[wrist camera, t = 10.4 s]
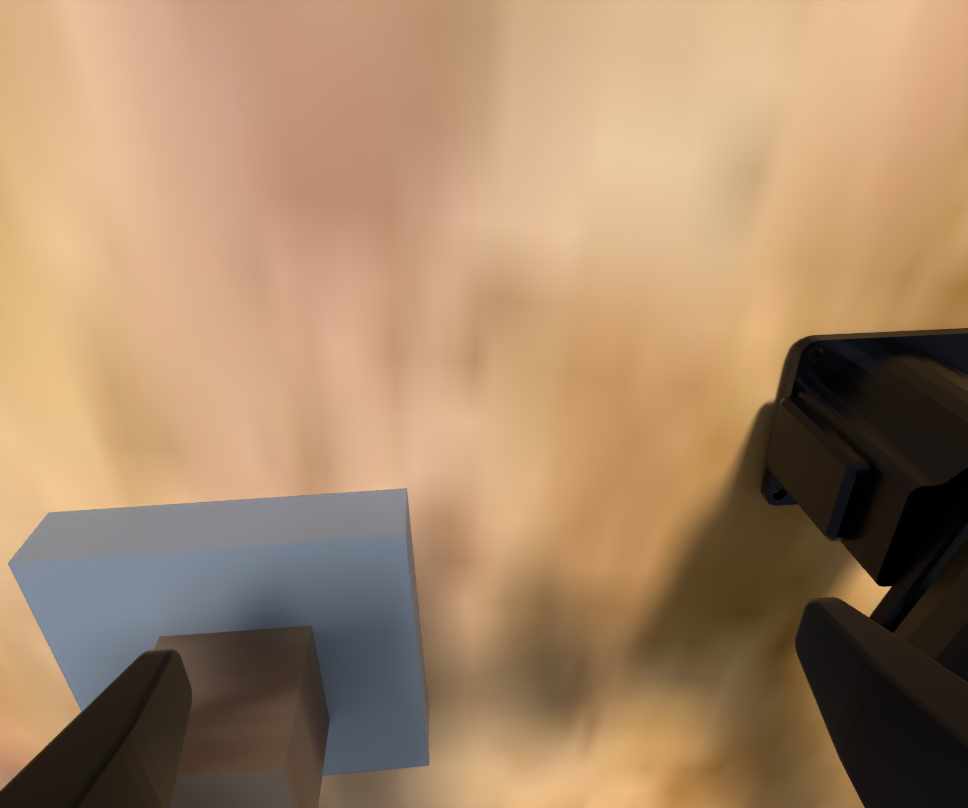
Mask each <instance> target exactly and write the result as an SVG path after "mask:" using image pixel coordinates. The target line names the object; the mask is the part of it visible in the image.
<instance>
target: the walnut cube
mask: <svg viewBox="0 0 968 808" xmlns="http://www.w3.org/2000/svg"><path fill="white" fill-rule="evenodd" d="M169 648H172V649H176V650H177V651H178V652H179V653H180V655H181V658H182V661H183V664H184V666H185V669H186V672H187V675H188V678H189V681H190V684H191V687H192V705H191V711H190V716H189V721H188V725H187V730H186V735H185V740H184V745H183V750H182V755H181V760H180V765H179V770H178V775H177V780H176V785H175V790H174V795H173V800H172V805H171V808H318V802H319V795H320V788H321V780H322V773H323V766H324V759H325V751H326V744H327V737H328V730H329V722H330V719H329V714H328V708H327V703H326V698H325V693H324V688H323V682H322V677H321V672H320V667H319V661H318V656H317V651H316V646H315V641H314V635H313V630H312V626H300V627H286V628H272V629H258V630H244V631H230V632H216V633H202V634H188V635H174V636H159V638H158V641H157V643H156V645H155V647H154V650H156V649H169Z"/></svg>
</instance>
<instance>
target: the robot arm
mask: <svg viewBox="0 0 968 808" xmlns="http://www.w3.org/2000/svg"><path fill="white" fill-rule="evenodd" d="M813 348H817V350H816V352H815V353H814V354H813V355H812V356H809V357H808V354H809V352H810V351H811V350H812V349H813ZM765 464H766V470H765V474H764V478H763V483H762V487H761V494H762V495H763V497H764V498H765V499H766V501H767V502H768V503H769V504H771V505H776V506H778V505H793V504H799V505H800V507H801V508H802V509H803V510H804V511H805V513H806V514H807V515H808V516H809V517H810V519H811V520H812V521H813V522H814V524H815V525H816V526H817V527H818V528H819V530H820V531H821V532H822V533H823V534H824V535H825V536H826V537H827V538H828V539H829V540H830V541H841V542H842V543H843V545H844V546H845V547H846V548H847V549H848V550H849V552H850V553H851V554H852V555H853V556H854V558H855V559H856V560H857V561H858V562H859V563H860V565H861V566H862V567H863V568H864V569H865V570H866V572H867V573H868V574H869V575H870V576H871V577H872V579H873V580H874V581H875V582H876V583H877V584H878V585H879V586H883V587H886V586H892V587H891V588H890V590H889V591H888V592H887V594H886V595H885V596H884V598H883V599H882V600H881V602H880V603H879V605H878V606H877V607H876V609H875V610H874V611H873V613H872V614H871V615H870V617H867V616H866V615H864V614H863V613H861V612H859V611H858V610H856V609H855V608H853V607H852V606H850V605H849V604H847V603H846V602H844V601H842V600H840V599H838V598H818V599H811V600H809V601H808V602H807V603H806V605H805V607H804V611H803V614H802V617H801V620H800V623H799V627H798V630H797V633H796V637H795V648H796V652H797V655H798V658H799V660H800V663H801V665H802V668H803V670H804V673H805V675H806V678H807V680H808V683H809V685H810V688H811V690H812V693H813V695H814V698H815V700H816V703H817V705H818V708H819V710H820V713H821V715H822V718H823V720H824V723H825V725H826V728H827V730H828V733H829V735H830V738H831V740H832V742H833V745H834V747H835V749H836V752H837V754H838V756H839V758H840V760H841V762H842V764H843V766H844V768H845V770H846V772H847V775H848V776H849V778H850V780H851V782H852V784H853V786H854V788H855V790H856V792H857V794H858V796H859V798H860V800H861V802H862V803H863V805H864V807H865V808H968V328H960V329H939V330H918V331H897V332H875V333H854V334H833V335H812V336H808V337H805V338H804V339H802V340H801V341H800V342H799V343H798V344H797V345H796V347H795V349H794V353H793V357H792V361H791V365H790V370H789V374H788V378H787V382H786V386H785V390H784V395H783V399H782V400H781V401H780V403H779V405H778V409H777V413H776V417H775V421H774V425H773V430H772V434H771V438H770V442H769V447H768V451H767V455H766V459H765ZM778 489H780V490H779V491H778V492H777V493H774V492H775V491H776V490H778ZM191 705H192V687H191V684H190V681H189V678H188V675H187V672H186V669H185V666H184V664H183V661H182V658H181V655H180V653H179V652H178V651H177V650H176V649H172V648H169V649H156V650H148V651H145V652H144V653H142V654H141V655H140V656H138V657H137V658H136V659H135V660H134V661H133V662H132V663H131V664H130V665H129V666H128V667H127V668H126V669H125V670H124V671H123V672H122V673H121V674H120V675H119V676H118V677H117V678H116V679H115V680H114V681H113V682H112V683H111V684H110V685H109V686H108V687H107V688H105V689H104V690H103V691H102V692H101V693H100V694H99V695H98V696H97V697H96V698H95V699H94V700H93V701H92V702H91V703H90V704H89V705H88V706H87V707H86V708H85V709H84V710H83V711H82V712H81V713H80V714H79V715H78V716H77V717H76V718H75V719H74V720H73V721H72V722H71V723H70V724H68V725H67V726H66V727H65V728H64V729H63V730H62V731H61V732H60V733H59V734H58V735H57V736H56V737H55V738H54V739H53V740H52V741H51V742H50V743H49V744H48V745H47V746H46V747H45V748H44V749H43V750H42V751H41V752H40V753H39V754H38V755H37V756H36V757H35V758H34V759H33V760H31V761H30V762H29V763H28V764H27V765H26V766H25V767H24V768H23V769H22V770H21V771H20V772H19V773H18V774H17V775H16V776H15V777H14V778H13V779H12V780H11V781H10V782H9V783H8V784H7V785H6V786H5V787H4V788H3V789H2V790H1V791H0V808H171V805H172V800H173V795H174V790H175V785H176V780H177V775H178V770H179V765H180V760H181V755H182V750H183V745H184V740H185V735H186V730H187V725H188V721H189V716H190V711H191Z"/></svg>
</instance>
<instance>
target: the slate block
mask: <svg viewBox="0 0 968 808" xmlns="http://www.w3.org/2000/svg"><path fill="white" fill-rule="evenodd" d="M8 565H9V567H10V569H11V571H12V573H13V575H14V577H15V579H16V581H17V583H18V585H19V587H20V589H21V591H22V593H23V595H24V597H25V599H26V601H27V603H28V605H29V607H30V609H31V611H32V613H33V615H34V617H35V619H36V621H37V623H38V625H39V627H40V629H41V631H42V633H43V635H44V637H45V639H46V641H47V643H48V645H49V647H50V649H51V651H52V653H53V655H54V657H55V659H56V661H57V663H58V665H59V667H60V669H61V671H62V673H63V675H64V677H65V679H66V681H67V683H68V685H69V687H70V689H71V691H72V693H73V695H74V697H75V699H76V701H77V703H78V705H79V707H80V709H81V711H83V710H84V709H85V708H86V707H87V706H88V705H89V704H90V703H91V702H92V701H93V700H94V699H95V698H96V697H97V696H98V695H99V694H100V693H101V692H102V691H103V690H104V689H105V688H107V687H108V686H109V685H110V684H111V683H112V682H113V681H114V680H115V679H116V678H117V677H118V676H119V675H120V674H121V673H122V672H123V671H124V670H125V669H126V668H127V667H128V666H129V665H130V664H131V663H132V662H133V661H134V660H135V659H136V658H137V657H138V656H140V655H141V654H142V653H144V652H145V651H148V650H154V647H155V645H156V643H157V641H158V638H159V636H174V635H188V634H202V633H216V632H230V631H244V630H258V629H272V628H286V627H300V626H312V630H313V635H314V641H315V646H316V651H317V656H318V661H319V667H320V672H321V677H322V682H323V688H324V693H325V698H326V703H327V708H328V714H329V719H330V722H329V730H328V737H327V744H326V751H325V759H324V766H323V773H322V776H323V775H334V774H344V773H355V772H365V771H376V770H386V769H397V768H407V767H418V766H429V721H428V702H427V691H426V681H425V671H424V660H423V650H422V640H421V629H420V619H419V609H418V598H417V588H416V578H415V567H414V557H413V547H412V536H411V526H410V515H409V505H408V495H407V488H406V489H391V490H376V491H361V492H346V493H332V494H317V495H302V496H287V497H273V498H258V499H243V500H228V501H213V502H199V503H184V504H169V505H154V506H139V507H125V508H110V509H95V510H80V511H65V512H51V513H48V514H47V515H46V517H45V518H44V519H43V520H42V522H41V523H40V524H39V525H38V527H37V528H36V529H35V530H34V532H33V533H32V534H31V535H30V536H29V538H28V539H27V540H26V541H25V543H24V544H23V545H22V546H21V548H20V549H19V550H18V551H17V553H16V554H15V555H14V556H13V558H12V559H11V560H10V561H9V563H8Z"/></svg>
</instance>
